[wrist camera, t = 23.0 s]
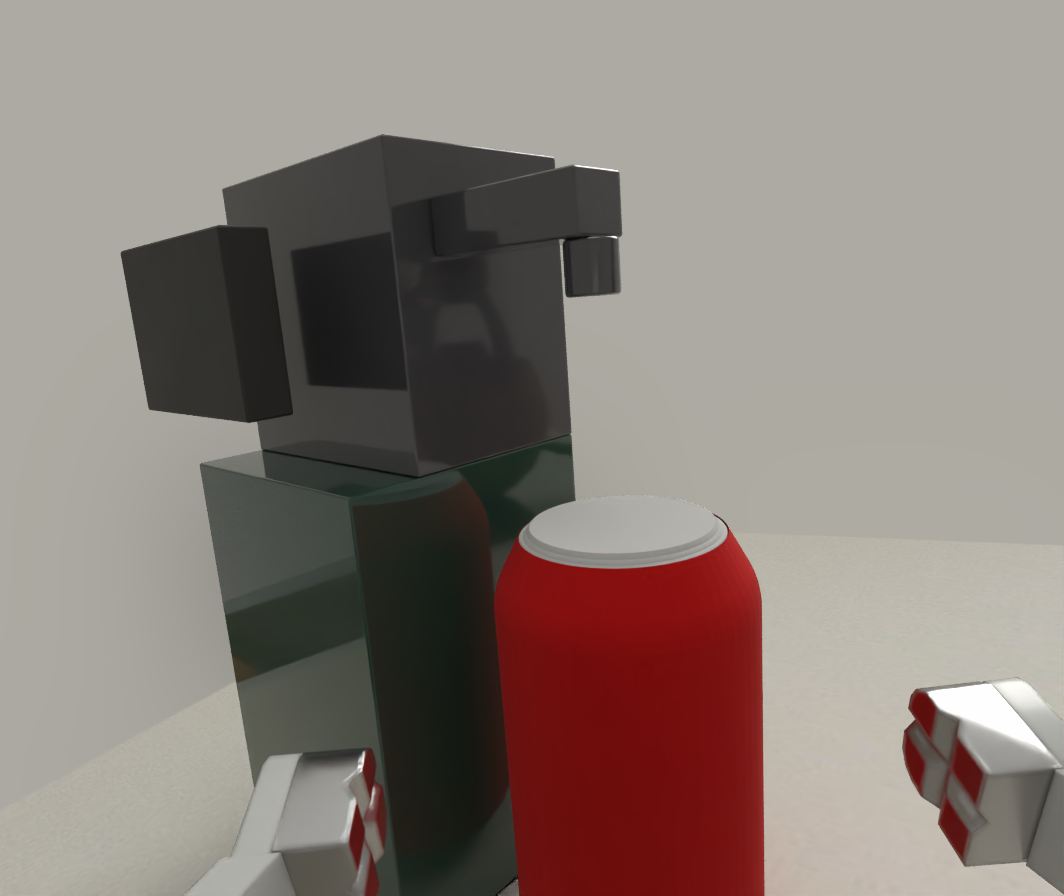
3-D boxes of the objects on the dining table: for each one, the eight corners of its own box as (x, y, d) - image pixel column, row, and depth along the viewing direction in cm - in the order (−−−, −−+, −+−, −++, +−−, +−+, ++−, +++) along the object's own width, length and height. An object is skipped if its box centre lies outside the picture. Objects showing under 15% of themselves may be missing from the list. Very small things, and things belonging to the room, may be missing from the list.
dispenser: (546, 1097, 16) (457, 58, 12) (261, 838, 25) (151, 184, 20) (723, 874, 22) (706, 119, 17) (442, 726, 30) (385, 197, 26)
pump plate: (247, 423, 17) (216, 224, 16) (147, 410, 21) (119, 251, 20) (295, 414, 18) (268, 225, 17) (190, 403, 22) (164, 251, 21)
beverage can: (495, 1051, 17) (446, 566, 15) (556, 855, 23) (528, 485, 20) (771, 1111, 15) (767, 576, 13) (760, 883, 21) (756, 485, 19)
